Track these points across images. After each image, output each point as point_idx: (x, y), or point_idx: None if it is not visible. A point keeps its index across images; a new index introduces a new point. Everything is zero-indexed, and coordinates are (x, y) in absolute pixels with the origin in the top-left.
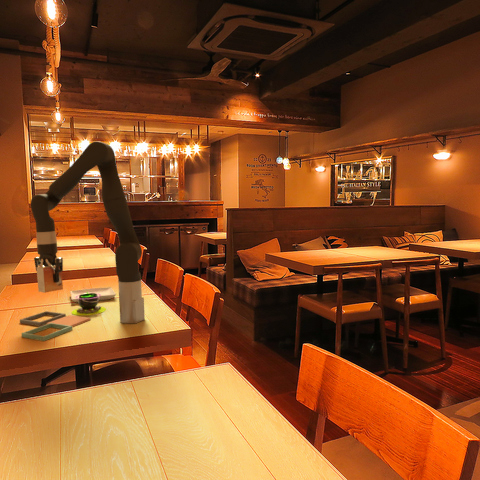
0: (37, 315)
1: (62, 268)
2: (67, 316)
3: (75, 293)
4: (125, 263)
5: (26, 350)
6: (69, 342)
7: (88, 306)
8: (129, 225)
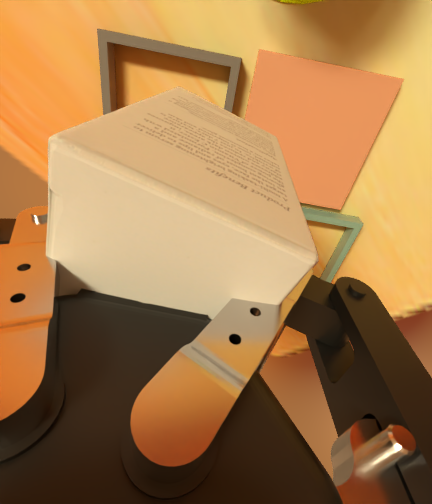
0: (112, 105)
1: (386, 317)
2: (264, 78)
3: None
4: None
5: (304, 340)
6: (389, 300)
7: None
8: None
